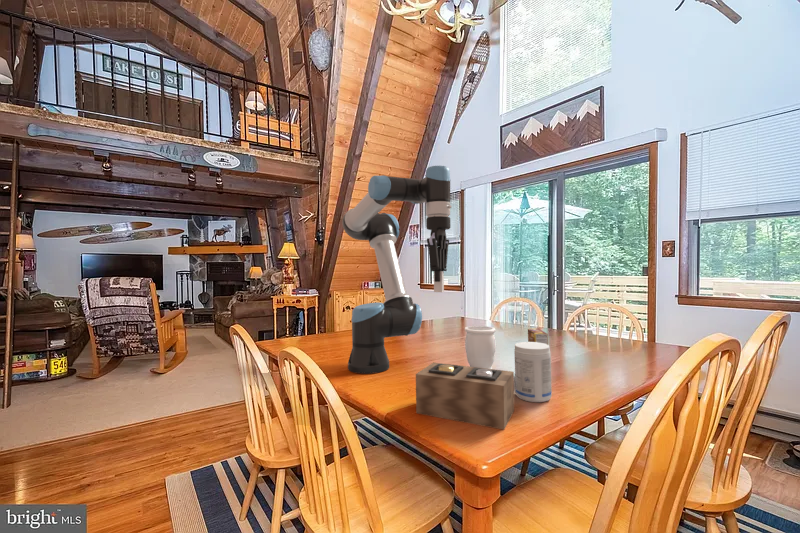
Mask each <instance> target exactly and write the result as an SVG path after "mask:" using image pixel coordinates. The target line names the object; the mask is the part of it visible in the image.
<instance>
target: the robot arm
mask: <svg viewBox="0 0 800 533" xmlns="http://www.w3.org/2000/svg"><path fill="white" fill-rule="evenodd" d="M450 172H451V171H450V167H448V166H445V165H431V166H428V167H427V168H426V169H425V177H423V178H421V179H418V178H411V177H410V178H408V177H400V176H399V177H397V176H388V175H384V174H383V175H372V176H371V177H370V179H369V181H368V186H367V193H366V194H365V195H364V197H362V198H361V200H360V201H359V202H358V203H357V204H356V205H355V206H354V208H350V209H349V210H347V211H346V212H345V214H344V215H343V217H342V221H341V222H342V223H341V224H342V228H343V230H344V232H345V233H346V234H347V235H348V236H349V237H350V238H352V239H354V240H358V241H368V243H369V246H370V248H372V249H374V254H375V258H376V262H377V266H378V270H379V271H378V272H379V276H380V280H381V286H382V289H383V293H384V298H385V300H384V302H378V301H377V302H369V303H368V302H367V303H364V304H359V305H356V306H355V307H354V308H353V309H352V312H351V336H352V337H351V339H352V342H351V344H352V345H351V346H352V347H351V348H352V349H351V351H350V355H349V357H348V362H347V370H348V371H349V372H352V373H355V374H362V375H363V374H377V373H382V372H384V371H385V372H386V371H387V370H389V369H390V359H389V357H388V354H387V350H386V348H385V338H392V337H395V338H396V337H403V336H410V335H415V334H416V333H418V332H419V330H420V329H421V326H422V322H423V313H422V308H421V306H420V305H419V304H418V303H415V302H414V301H413V298H412V296H411V295H409V294H407V290H406V285H405V282H404V278H403V274H402V269H401V266H400V262H399V257H398V254H397V250H396V245H395V244H396V243H397V240H398V238H399V237H400V230H399V229H400V225H399V221H398V219H397V217H396V216H394V214H392V213H386V212H382V213H381V211H383V210H384V209H385V207H386V206H388V205H389V204H390V203H391V202H392V201H393V202H394V201H397V202H409V203H411V204H414V205H418V204H419V205H420V204H424V203H426V204H425V215H426V217H427V218H426V220H425V222H426V225H425V226H426V227H425V228H426V230H428V231H430V235H429V236H430V238H426V242H427V243H426V244H427V247H428V254H429V266H430V267H429V268H430V272H433V293H444V292H445V285H444V284H445V280H444V279H445V277H444V276H445V274H444V272H447V270H448V269H447V266H448V254H449V252H448V251H449V245H450V240H449V239H447V233H446V230H451V217H450V216H451V209H452V207H453V206H452V205H451V173H450Z"/></svg>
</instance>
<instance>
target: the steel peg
mask: <svg viewBox="0 0 800 533" xmlns="http://www.w3.org/2000/svg"><path fill="white" fill-rule="evenodd" d="M476 375H480V376H488V377H492V376H493V372H492V371H491V370H488V369H479V370H476Z"/></svg>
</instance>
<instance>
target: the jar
mask: <svg viewBox="0 0 800 533" xmlns="http://www.w3.org/2000/svg"><path fill="white" fill-rule="evenodd" d="M464 331H465V332H466V334H465V340H464V342H465V344H464V345H465V347H464V348H465V353H466V354H465V355H466V359H467V362H468V364H469V367H477V368H486V369H493V365H494V362H495V355H496V349H497V345H496V344H497V343H496V338H495V336H496V335H495V332H496V328H495V327H491V326H487V325H486V326H485V325H484V326H483V325H472V326H471V325H470V326H465V327H464Z"/></svg>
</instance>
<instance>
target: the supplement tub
mask: <svg viewBox="0 0 800 533" xmlns="http://www.w3.org/2000/svg"><path fill="white" fill-rule="evenodd" d="M551 362H552V361H551V350H550V345H549V344H548V345H547V344H544V343H539V342H528V341H521V342H520V341H519V342H516V343H515V344H514V381H515V382H514V384H515V386H514V388H515V395H516V396H517V398H519V399H520V400H522V401H526V402H529V403H543V402H544V403H545V402H548V401H549V400H551V399H552V364H551Z"/></svg>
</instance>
